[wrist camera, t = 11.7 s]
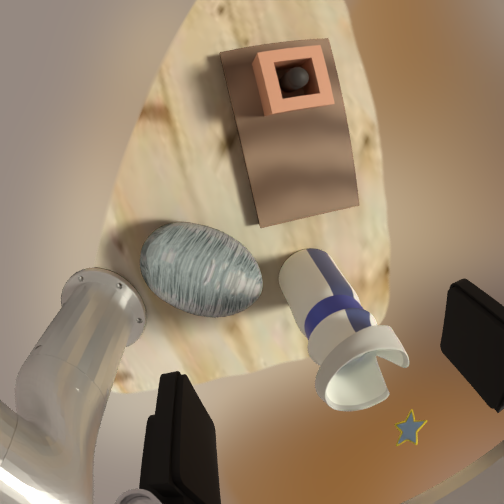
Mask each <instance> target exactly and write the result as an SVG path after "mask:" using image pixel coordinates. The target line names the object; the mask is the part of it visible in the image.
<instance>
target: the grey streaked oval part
mask: <svg viewBox="0 0 504 504" xmlns="http://www.w3.org/2000/svg"><path fill="white" fill-rule="evenodd" d="M140 268H141V272H142V276H143V278H144V280H145V282H146V283H147V285H148V286H149V288H150V289H151V290H152V291H153V292H154V293H155V294H156V295H157V296H158V297H159V298H161V299H162V300H164V301H165V302H167V303H169V304H170V305H172V306H174V307H176V308H178V309H180V310H183V311H185V312H188V313H191V314H194V315H198V316H206V317H225V316H230V315H233V314H236V313H239V312H241V311H243V310H245V309H246V308H248V307H249V306H251V305H252V304H253V303H254V302H255V301H256V300H257V299H258V298H259V296H260V294H261V292H262V288H263V281H262V275H261V272H260V269H259V266H258V264H257V262H256V260H255V259H254V257H253V256H252V254H251V253H250V252H249V251H248V249H247V248H245V247H244V246H243V245H242V244H241V243H240V242H238V241H237V240H235V239H234V238H232V237H231V236H229V235H228V234H226V233H224V232H221V231H219V230H217V229H214V228H211V227H208V226H204V225H199V224H194V223H188V222H175V223H170V224H166V225H164V226H161V227H160V228H158V229H157V230H155V231H154V232H153V233H152V234H151V235H150V236H149V237H148V239H147V240H146V242H145V243H144V245H143V247H142V250H141V255H140Z"/></svg>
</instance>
